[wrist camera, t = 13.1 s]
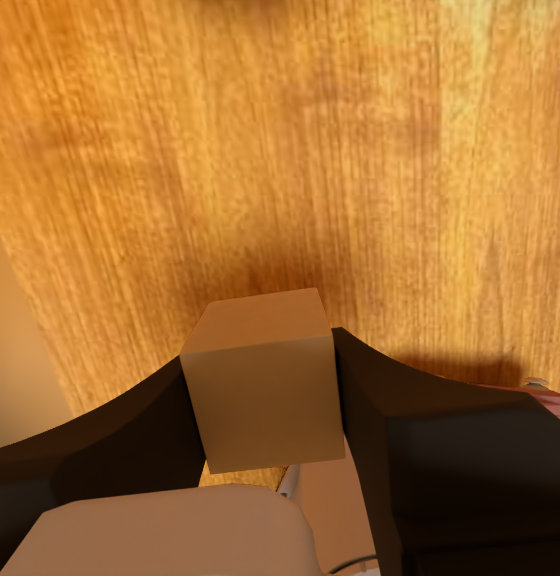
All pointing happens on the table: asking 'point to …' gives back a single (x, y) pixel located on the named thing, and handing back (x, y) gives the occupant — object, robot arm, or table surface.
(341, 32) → the table surface
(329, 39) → the table surface
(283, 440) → the block
